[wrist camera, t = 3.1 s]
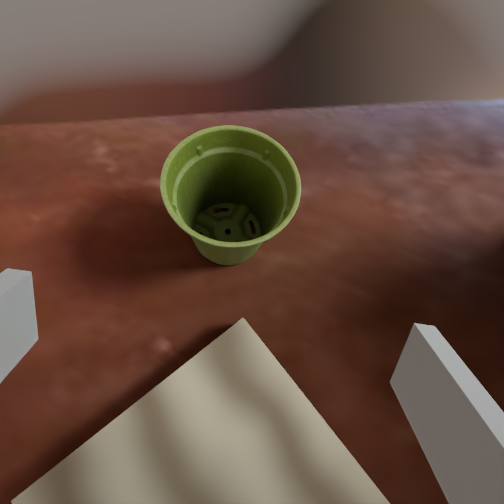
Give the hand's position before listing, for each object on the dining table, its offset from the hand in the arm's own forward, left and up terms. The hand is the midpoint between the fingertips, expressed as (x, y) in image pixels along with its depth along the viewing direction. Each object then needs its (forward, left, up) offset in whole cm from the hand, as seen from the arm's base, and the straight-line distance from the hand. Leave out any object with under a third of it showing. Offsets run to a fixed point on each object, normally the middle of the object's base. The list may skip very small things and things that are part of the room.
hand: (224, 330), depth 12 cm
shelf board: (+6, +7, -17) cm, 19 cm away
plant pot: (-7, -8, -17) cm, 20 cm away
